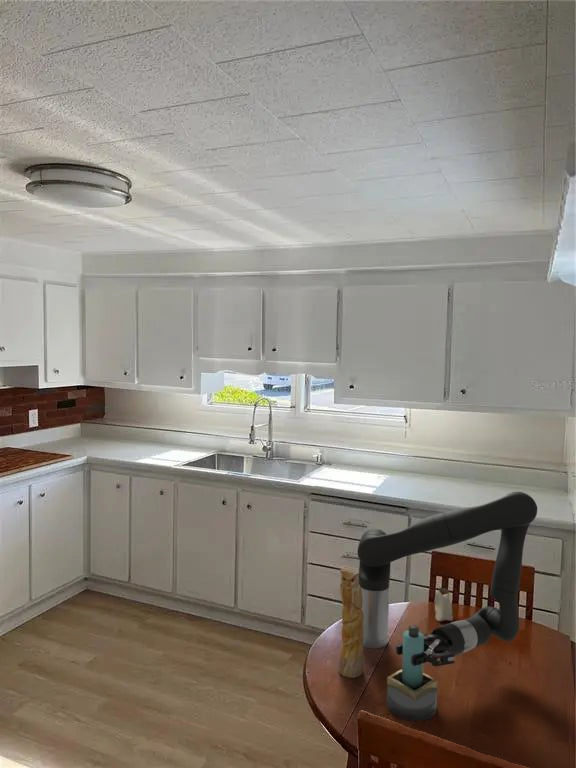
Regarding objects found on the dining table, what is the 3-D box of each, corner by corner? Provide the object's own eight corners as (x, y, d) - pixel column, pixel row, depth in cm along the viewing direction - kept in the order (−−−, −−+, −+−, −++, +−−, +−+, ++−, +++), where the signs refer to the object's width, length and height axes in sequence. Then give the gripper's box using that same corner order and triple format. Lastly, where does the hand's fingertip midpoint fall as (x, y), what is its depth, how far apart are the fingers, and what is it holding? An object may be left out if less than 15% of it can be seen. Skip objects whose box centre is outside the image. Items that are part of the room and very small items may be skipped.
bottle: (397, 681, 143) (399, 626, 142) (410, 674, 146) (411, 620, 145) (413, 690, 139) (415, 634, 138) (426, 683, 142) (428, 628, 141)
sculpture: (333, 681, 152) (336, 570, 150) (341, 663, 161) (344, 557, 159) (358, 686, 150) (361, 574, 148) (365, 667, 159) (368, 561, 157)
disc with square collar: (376, 702, 144) (377, 676, 143) (407, 684, 151) (407, 659, 151) (416, 727, 135) (416, 699, 134) (446, 707, 142) (447, 680, 142)
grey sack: (453, 628, 186) (466, 601, 185) (433, 622, 185) (446, 594, 184) (441, 612, 195) (454, 586, 194) (422, 606, 193) (435, 580, 192)
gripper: (435, 612, 155) (385, 628, 147) (477, 636, 143) (426, 654, 134) (434, 639, 156) (385, 656, 147) (476, 666, 143) (425, 686, 135)
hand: (404, 655), depth 141 cm, fingers closed on bottle, 5 cm apart
